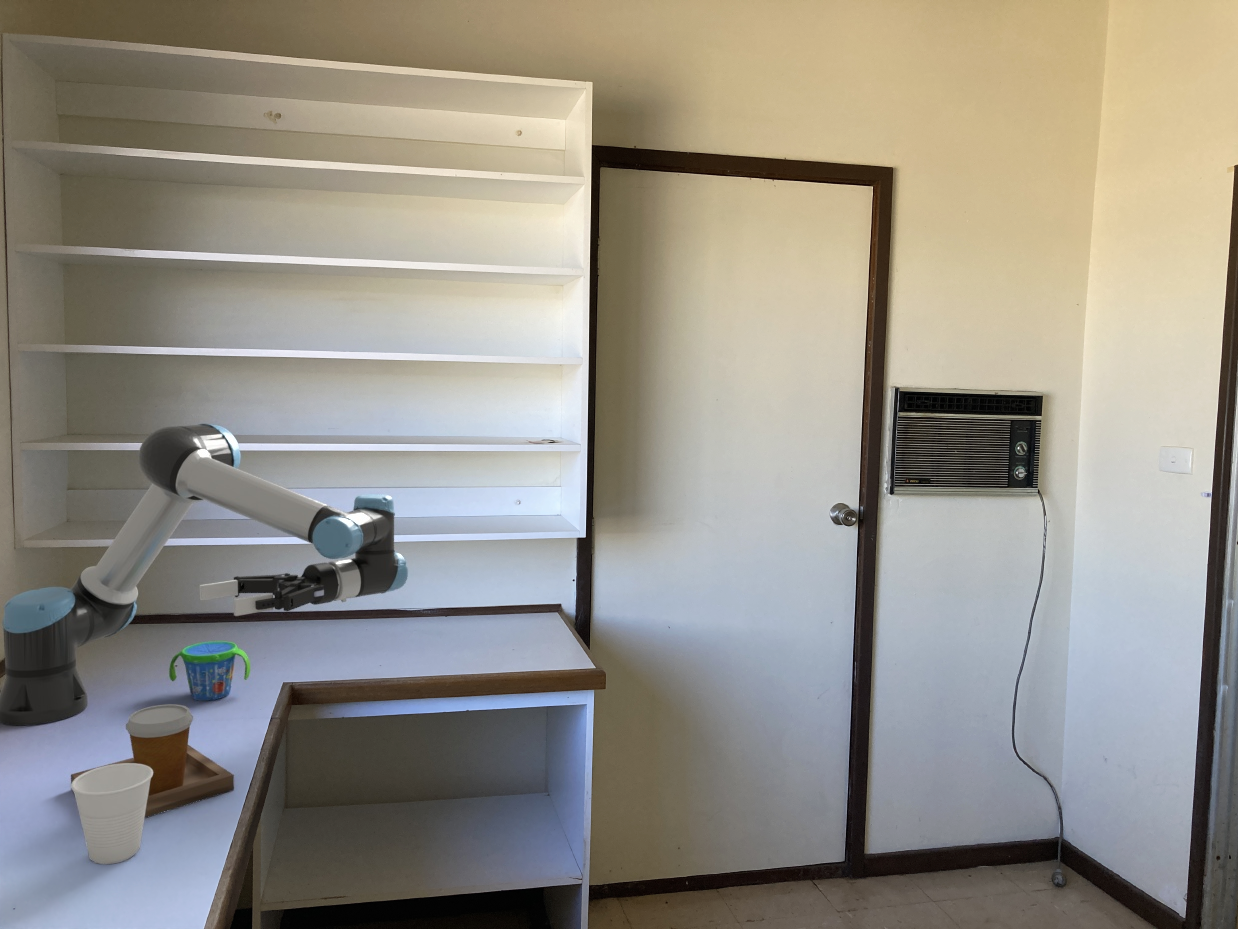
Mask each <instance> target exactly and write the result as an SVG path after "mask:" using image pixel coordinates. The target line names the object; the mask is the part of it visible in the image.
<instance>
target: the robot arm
mask: <svg viewBox="0 0 1238 929" xmlns="http://www.w3.org/2000/svg"><path fill="white" fill-rule="evenodd" d="M241 456H242V455H241V451H240V446H239V443H238V441H237V439H236V437H235V436H234V434H233V433H232V432H231V431H230V430H228V429H226V428H225V427H223V426H221V425H217V424H209V423H198V424H193V425H191V424H190V425H180V426H179V425H177V426H176V425H175V426H164V427H162V428H159V429H156V430H154V431H153V432H151V433H150V434H149V435H148V436H147V437H145V439H144V440H143V441H142V443H141V445H140V447H139V450H138V456H137V457H138V459H137V460H138V465H139V468H140V471H141V473H142V474H143V475H144V477H145V478H146V479H147V480H148V481H149V482H150V483H151V485H150V486H149V487H148V490H147V491H146V492H145V493H144V495H143V496H142V498H141V499H140V501H139V502H138V504H137V506H135V508H134V510H133V512H132V513H131V514H130V516H129V517H128V518H127V519H126V522H125V523H124V524H123V526H122V528H121V529H120V530H119V532H118V533H117V535H116V536H115V538H114V539H113V541H112V542H111V543H110V545H109V547H108V548H107V549H106V551H105V553H104V554H103V555H102V556H101V559H100V560H99V561H98V562H97V564H96V565H93V566H89V567H86V568H85V569H83V571H82V572H81V573H80V575H79V576H78V578H77V579H76V581H75V582H74V583H73V585H72V586H71V587H70V588H67V587H63V586H49V587H40V588H38V589H31V590H27V591H24V592H21V593H18V594H17V595H15V596H12V597H11V598H10V599H8V600H7V602H6V603H5V605H4V608H3V618H2V627H3V643H4V644H3V647H4V665H5V666H4V667H5V679H4V682H3V685H2V688H1V691H0V723H1V724H3V725H4V724H5V725H10V726H29V725H30V726H31V725H41V724H47V723H52V722H57V721H60V720H64V719H68V718H71V717H74V716H77V715H78V714H80V713H82V712H83V711H85V710H86V708H87V707H88V693H87V691H86V689H85V686H84V683H83V681H82V678H81V677H80V674H79V673H78V670H77V653H76V651H77V650H76V649H77V648H79V647H83V646H85V645H87V644H90V643H92V642H95V641H98V640H100V639H104V638H107V637H111V636H114V635H115V634H117V633H118V632H120V631H121V630H123V629H125V628H126V627H128V626H129V624H130V623H131V622H132V621H133V619H134V617H135V616H136V613H137V608H138V605H137V603H136V602H137V598H138V596H139V590H138V588H137V585H138V584H139V582H140V581H141V579H142V578H143V577H144V575H145V574H146V572H147V571H148V570H149V568H150V566H151V565H152V564H153V562H154V560H155V559H156V558H157V557H158V555H159V554H160V552H161V551H162V549H163V548H164V547H165V545H166V543H167V542H168V541H169V540H170V538H171V536H172V535H173V534H174V532H175V530H176V529H177V527H178V526H179V524H180V523H181V522H182V520H183V519H184V517H186V514H187V513H188V511H189V510H190V509H191V507H192V506H193V504H194V503H197V502H202V501H206V502H209V503H211V504H213V505H216V506H218V507H221V508H223V509H226V510H229V511H231V512H232V513H236V514H238V515H241V516H242V517H245V518H248V519H251V520H253V521H255V522H258V523H260V524H262V525H265V526H268V527H271V528H273V529H275V530H277V531H280V532H283V533H285V534H288V535H289V536H292V537H295V538H297V539H299V540H302V541H305V542H307V543H310V544H312V545H313V546H314V548H315V550H317V553H318V554H319V555H321V556H322V557H324V558H326V559H329V560H331V561H328V562H319V563H312V564H309V565H307V566H306V567H305V569H304V570H303V573H302V574H301V576H299V575H298V574H290V573H289V572H286V573H280V574H266V575H265V574H263V575H244V576H238V575H237V576H234V577H233V579H232V580H227V581H220V582H212V583H205V584H200V585H199V600H200V601H201V602H203V601H210V600H217V599H222V598H229V597H234V599H233V616H235V617H239V616H244V615H249V614H255V613H261V612H266V611H272V610H274V609H275V610H278V611H279V610H282V609H283V611H284V612H289V611H292V610H294V609H297V608H301V607H303V606H305V605H308V604H312V605H314V606H315V605H322V604H328V603H332V602H337V601H341V603H346V602H347V599H354V598H360V597H365V596H371V595H377V594H386V593H389V592H394V591H397V590H400V589H401V588H403V586H405V584H406V582H407V581H408V577H409V567H408V566H407V562H406V558H404V556H403V555H402V554H401V553H399V552H395V516H396V513H395V505H394V498H393V497H392V496H390V495H388V494H379V493H377V494H374V493H373V494H372V493H371V494H361V495H357V496H356V497H355V498H354V502H353V503H354V504H353V509H352V510H351V511H348V512H347V511H344V510H343V511H342V510H341V509H338V508H336V507H333V506H331V505H328V504H327V503H323V502H321V501H319V500H316V499H314V498H310V497H308V496H307V495H303V494H302V493H298V492H296V491H294V490H292V489H288V488H286V487H283V486H281V485H278V484H276V483H273V482H271V481H269V480H266V479H263V478H262V477H259V476H256V475H254V474H252V473H249V472H247V471H244V470H242V469H239V466H240V464H241ZM352 555H354V556H355V557H354V558H347V557H350V556H352ZM343 558H345V559H343ZM338 559H339V560H338ZM240 594H258V595H251V596H245V597H240V598H239V596H240ZM67 717H68V718H67Z"/></svg>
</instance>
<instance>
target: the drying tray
mask: <svg viewBox="0 0 1238 929" xmlns="http://www.w3.org/2000/svg"><path fill="white" fill-rule="evenodd" d="M121 763H134V757H131V758H127V759H124V760H120V761H116V762H112V763H108V764H105V765H101V766H97V767H93V768H90V769H86V770H83V771H78V772H75V773H71V774H70V781H71V782H70V785H71V784H72V782H73V781H74V779H75V778H77V777H78V776H80V775H81V774H83V773H85V772H88V771H90V770H93V769H96V768H99V767H103V766H107V765H113V764H121ZM234 777H235V775H234V774H233V773H232V772H230V771H228V770H227V769H226V768H224V767H223V766H221V765H219V764H218V763H217V762H215V761H213V760H212V759H210V758H209V757H207V756H205V755H204V754H203V753H202V752H200V751H198V750H196V749H195V748H194V747H192V746H191V745H189V744H188V746H187V755H186V764H185V773H184V781H183V786H180V787H177V788H174V789H171V790H167V791H164V792H161V793H157V794H154V795H151V796H149V795H148V799H147V804H146V810H145V817H147V818H149V817H148V816H150V817H152V815H153V816H155V815H154V814H156V815H159V814H161V812H162V813H165V812H164V811H166V812H168V811H167V810H169V811H171V810H175V809H179V808H181V807H184V805H185V806H187V804H188V805H191V804H193V802H194V803H197V802H200V801H203V800H202V799H204V800H206V798H207V799H209V798H212V797H215V796H218V795H219V796H220V795H222V794H225V793H229V792H231V791H234V790H235V780H234V779H235V778H234ZM70 789H71V788H70ZM71 791H72V792H74V791H73V790H72V789H71ZM199 800H200V801H199ZM196 801H197V802H196ZM190 803H191V804H190ZM158 813H159V814H158ZM145 817H144V819H146V818H145Z"/></svg>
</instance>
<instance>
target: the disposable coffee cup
mask: <svg viewBox="0 0 1238 929" xmlns="http://www.w3.org/2000/svg"><path fill="white" fill-rule="evenodd" d="M193 720H194V715H193V714H192V713H191V709H190V708H189V707H188V706H186V705H182V704H173V703H172V704H171V703H169V704H158V705H152V706H147V707H144V708H141V709H138V710H136V711H134V712H133V713H131V714H130V715H129V717H128V720H127V723H125V729H126V730H127V733H128V734H129V738H130V743H131V744H130V745H131V750H132V758H134V763H137V764H143V765H146V766H149V767H150V768H151V769H152V770H153V776H152V777H151V780H150V786H149V792H148V795H149V796H151V795H154V794H157V793H161V792H164V791H167V790H171V789H174V788H177V787H180V786H183V781H184V773H185V764H186V755H187V746H188V745H189V737H190V727H191V725H192V722H193Z"/></svg>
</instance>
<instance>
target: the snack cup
mask: <svg viewBox="0 0 1238 929" xmlns="http://www.w3.org/2000/svg"><path fill="white" fill-rule="evenodd" d="M236 655H237V656H239V657H241V658H242V660H243V662H244V666H245V668H244V676H243V677H244V678H243V680H245V681H246V680H247V679H248V678H249V677H250V673H251V663H250V658H249V657H248V655H247V653H246V652H245V651H244V650H243V649H240V648H238V646H237V644H236V643H235V642H232V641H224V640H223V641H222V640H216V641H215V640H214V641H204V642H198V643H194V644H191V645H188V646H185V647H184V648H183V649H182V650H180V651H179V652H177V653H176V654H175V655H174V657H172V659H171V661H170V662H169V669H168V670H169V672H168V674H169V678H170V681H172V682H174V681H176V679H177V674H176V667H175V662H176V661H177V660H178V658H179V657H181V659H182V660H183V663H184V666H185V673H186V677H187V678H186V679H187V683H188V687H189V693H190V696H191V698H193V699H195V700H196V701H210V700H218V699H221V698H224V697H227V695H228V696H229V695H230V694H231V690H232V689H231V688H232V682H233V675H234V668H235V660H236Z"/></svg>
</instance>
